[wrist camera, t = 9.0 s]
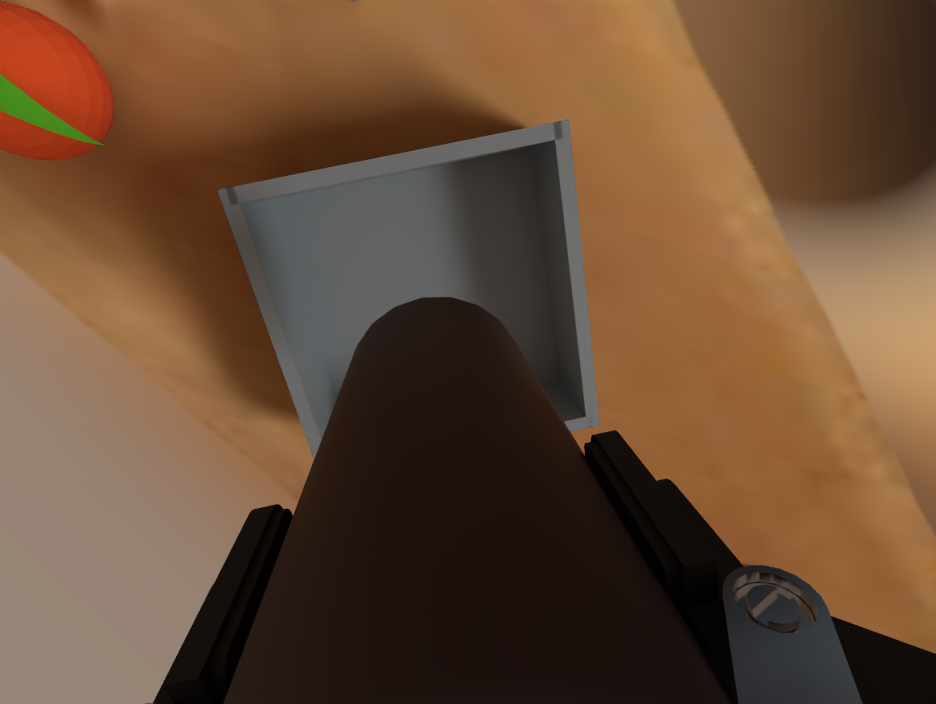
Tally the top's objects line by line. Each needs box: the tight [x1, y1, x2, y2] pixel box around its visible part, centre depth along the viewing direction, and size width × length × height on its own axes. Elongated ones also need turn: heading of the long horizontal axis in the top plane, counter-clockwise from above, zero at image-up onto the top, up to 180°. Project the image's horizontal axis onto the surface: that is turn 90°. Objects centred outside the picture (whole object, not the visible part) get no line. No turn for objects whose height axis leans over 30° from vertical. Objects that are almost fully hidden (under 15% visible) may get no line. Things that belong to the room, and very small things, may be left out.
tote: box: [217, 119, 600, 459], centre depth 30 cm, size 18×18×7 cm
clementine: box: [0, 1, 114, 160], centre depth 24 cm, size 8×7×7 cm
